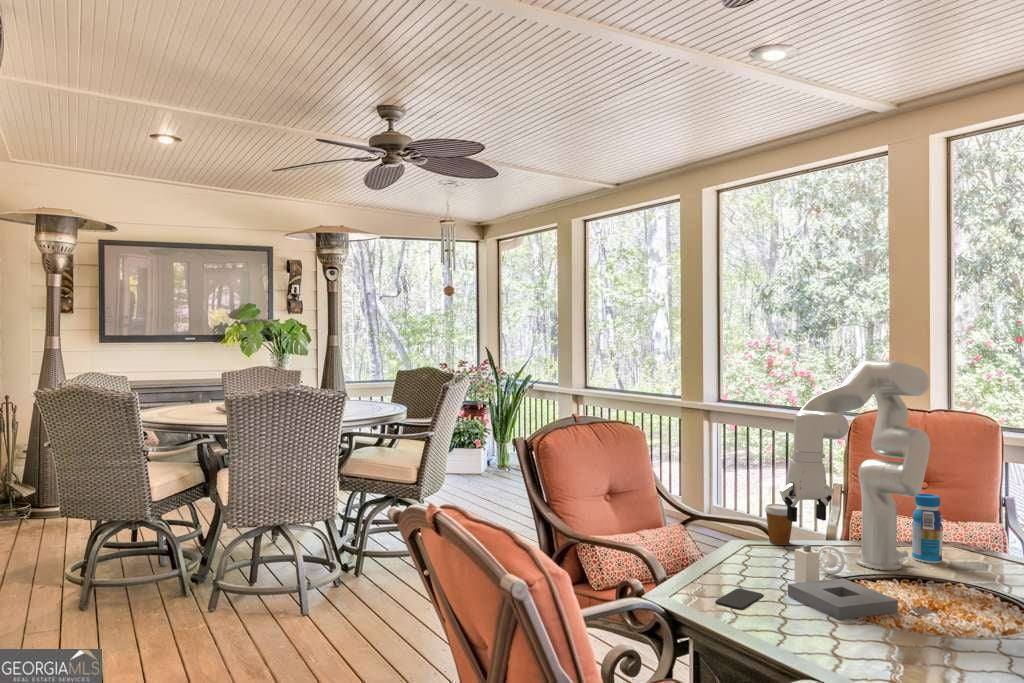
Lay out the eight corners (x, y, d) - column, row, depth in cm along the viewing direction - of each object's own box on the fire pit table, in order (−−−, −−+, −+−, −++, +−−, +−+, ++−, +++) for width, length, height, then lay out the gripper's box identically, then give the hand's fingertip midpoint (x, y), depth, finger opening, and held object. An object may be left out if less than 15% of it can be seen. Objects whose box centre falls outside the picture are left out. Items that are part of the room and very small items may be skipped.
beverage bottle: (905, 558, 230) (906, 493, 231) (923, 555, 234) (924, 492, 234) (930, 565, 223) (931, 498, 223) (949, 562, 226) (949, 497, 227)
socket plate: (843, 589, 198) (843, 578, 198) (897, 612, 181) (897, 600, 181) (787, 595, 192) (787, 583, 192) (838, 619, 175) (838, 607, 175)
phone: (765, 594, 192) (742, 608, 181) (765, 597, 192) (742, 611, 181) (737, 587, 197) (713, 601, 186) (737, 590, 197) (713, 604, 186)
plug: (807, 580, 206) (808, 542, 206) (819, 585, 201) (819, 546, 202) (794, 581, 204) (794, 543, 204) (805, 586, 200) (806, 548, 200)
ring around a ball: (846, 575, 211) (846, 547, 211) (841, 579, 207) (841, 551, 207) (817, 569, 216) (817, 542, 216) (811, 574, 212) (811, 546, 212)
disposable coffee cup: (789, 547, 240) (790, 510, 240) (760, 542, 246) (760, 506, 246) (798, 542, 248) (798, 506, 248) (769, 537, 254) (770, 502, 254)
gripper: (823, 455, 210) (822, 516, 209) (772, 456, 204) (771, 518, 204) (843, 459, 202) (842, 522, 202) (791, 460, 197) (789, 524, 197)
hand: (806, 520), depth 203 cm, fingers open, 9 cm apart
